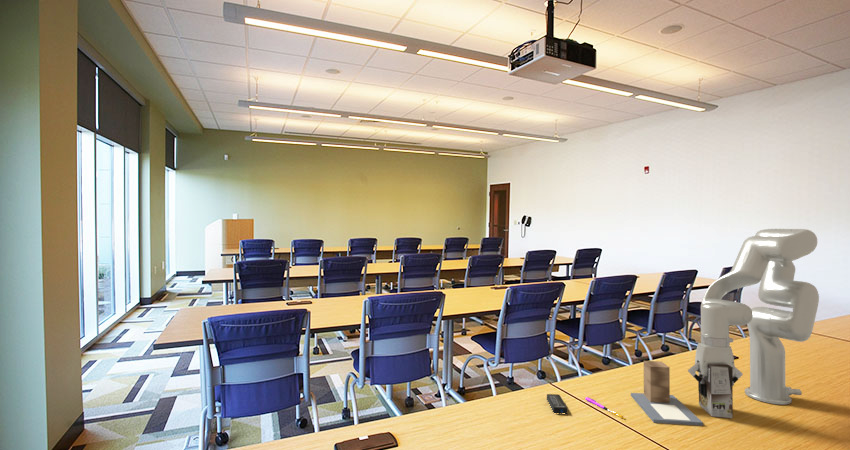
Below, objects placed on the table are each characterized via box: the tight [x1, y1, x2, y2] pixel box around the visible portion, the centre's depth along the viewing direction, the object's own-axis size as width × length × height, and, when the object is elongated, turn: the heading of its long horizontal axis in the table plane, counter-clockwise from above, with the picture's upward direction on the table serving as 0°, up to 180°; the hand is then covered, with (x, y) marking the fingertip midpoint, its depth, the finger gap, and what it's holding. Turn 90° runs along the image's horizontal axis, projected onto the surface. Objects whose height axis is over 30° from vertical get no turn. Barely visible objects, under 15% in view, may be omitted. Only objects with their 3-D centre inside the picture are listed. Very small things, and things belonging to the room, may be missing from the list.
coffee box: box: [697, 365, 734, 419], centre depth 132 cm, size 9×6×16 cm
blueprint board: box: [630, 360, 704, 427], centre depth 134 cm, size 14×20×13 cm
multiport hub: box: [546, 393, 568, 415], centre depth 136 cm, size 4×11×2 cm, turn 175°
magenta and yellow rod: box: [585, 397, 626, 420], centre depth 135 cm, size 3×1×16 cm
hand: (715, 395), depth 132 cm, fingers closed on coffee box, 6 cm apart
